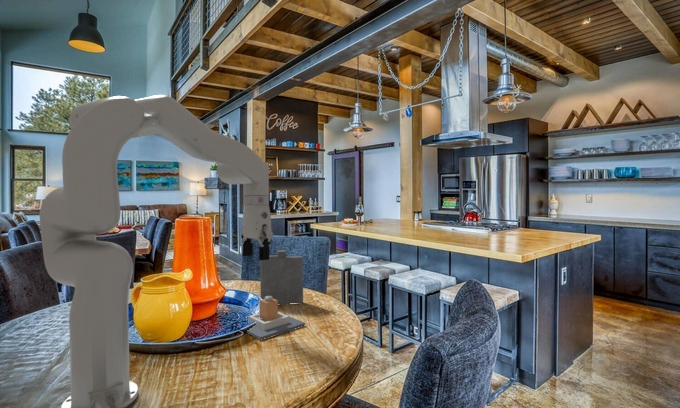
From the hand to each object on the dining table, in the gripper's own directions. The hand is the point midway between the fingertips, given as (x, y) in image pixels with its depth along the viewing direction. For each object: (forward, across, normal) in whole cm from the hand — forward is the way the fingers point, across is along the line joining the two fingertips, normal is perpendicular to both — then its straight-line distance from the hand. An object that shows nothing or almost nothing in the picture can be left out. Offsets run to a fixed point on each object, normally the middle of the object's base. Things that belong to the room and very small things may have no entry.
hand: (255, 257), depth 108 cm
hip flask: (+21, +15, -20) cm, 32 cm away
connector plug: (+20, -2, -4) cm, 21 cm away
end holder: (+21, -2, -4) cm, 22 cm away
